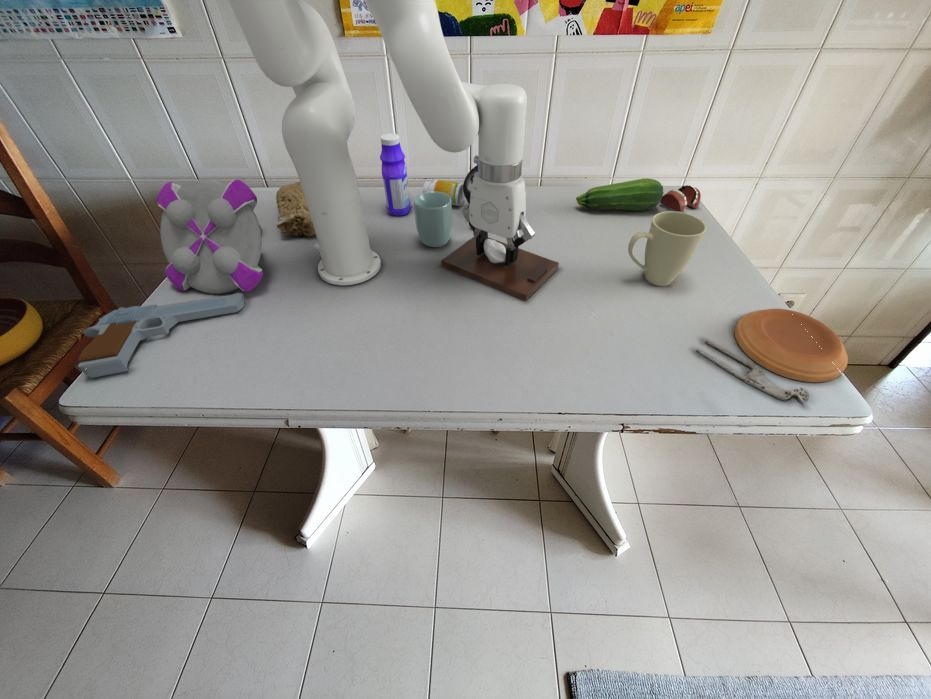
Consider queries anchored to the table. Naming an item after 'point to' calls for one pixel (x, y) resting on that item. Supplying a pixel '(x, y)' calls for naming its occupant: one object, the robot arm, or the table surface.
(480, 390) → the table surface
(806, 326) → the saucer
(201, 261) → the toy
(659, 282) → the mug
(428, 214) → the cup
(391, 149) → the bottle
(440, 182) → the supplement bottle
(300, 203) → the sponge
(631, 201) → the vegetable
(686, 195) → the dentures
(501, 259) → the dumpling
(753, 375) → the nutcracker
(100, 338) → the handgun
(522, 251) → the bread board
